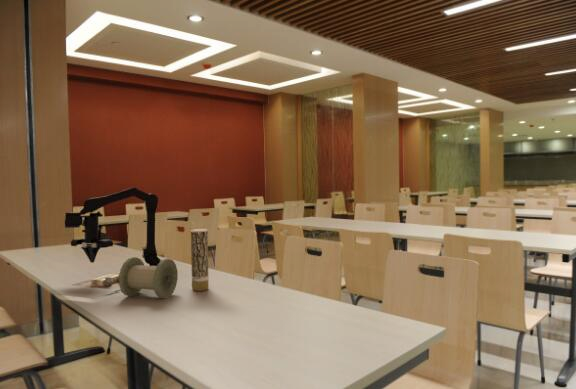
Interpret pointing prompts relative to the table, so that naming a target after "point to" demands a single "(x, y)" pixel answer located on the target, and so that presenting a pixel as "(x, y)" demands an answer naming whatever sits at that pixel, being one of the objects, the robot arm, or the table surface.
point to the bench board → (107, 282)
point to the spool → (148, 277)
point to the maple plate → (101, 280)
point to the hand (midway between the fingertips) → (92, 262)
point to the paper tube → (199, 259)
